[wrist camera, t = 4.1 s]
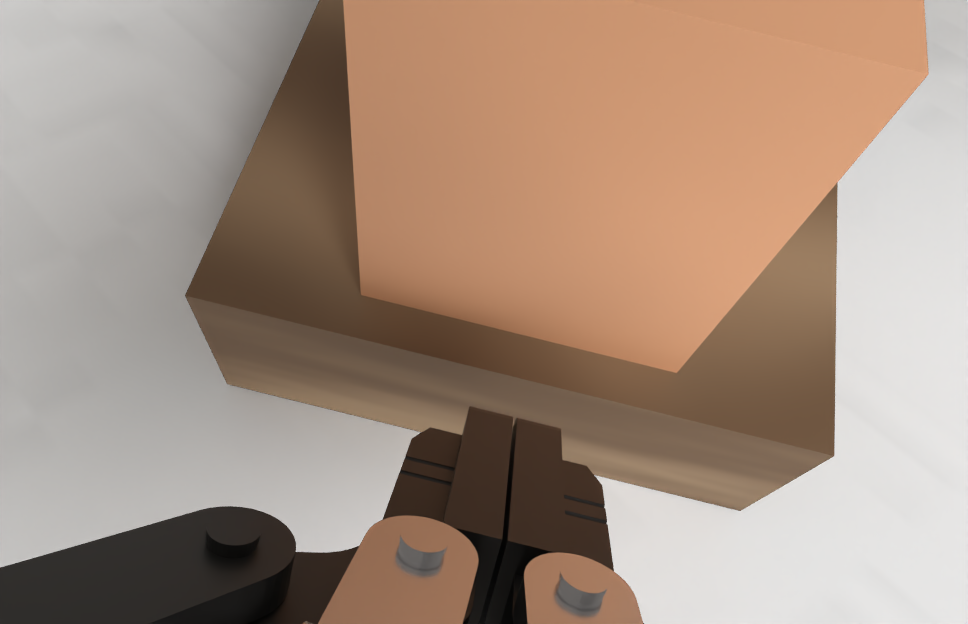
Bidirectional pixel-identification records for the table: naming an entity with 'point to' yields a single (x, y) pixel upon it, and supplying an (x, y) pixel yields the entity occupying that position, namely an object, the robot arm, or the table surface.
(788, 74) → the terracotta block
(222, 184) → the table surface
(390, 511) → the robot arm
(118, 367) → the table surface
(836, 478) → the table surface
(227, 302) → the square wooden plinth
